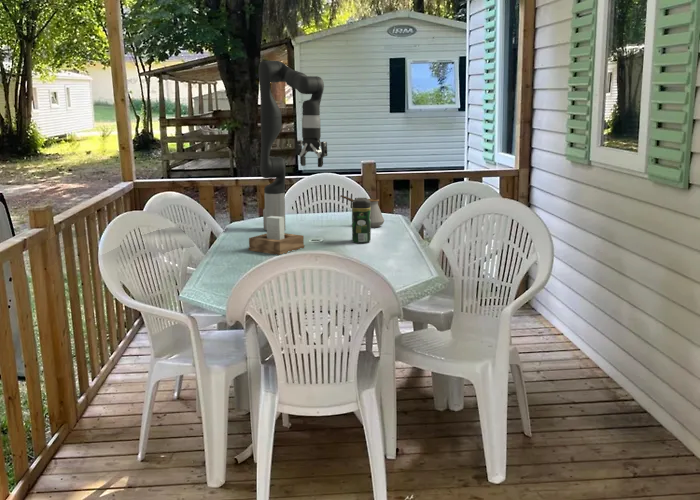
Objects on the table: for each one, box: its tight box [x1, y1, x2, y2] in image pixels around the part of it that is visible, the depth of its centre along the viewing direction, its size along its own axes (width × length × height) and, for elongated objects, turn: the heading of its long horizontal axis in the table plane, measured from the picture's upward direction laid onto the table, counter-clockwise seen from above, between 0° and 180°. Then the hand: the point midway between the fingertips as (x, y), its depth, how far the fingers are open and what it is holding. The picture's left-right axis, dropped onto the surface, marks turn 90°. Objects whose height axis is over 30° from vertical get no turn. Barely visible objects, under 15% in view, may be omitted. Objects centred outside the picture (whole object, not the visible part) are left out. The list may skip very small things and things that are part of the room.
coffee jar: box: [351, 197, 372, 244], centre depth 289 cm, size 10×8×19 cm
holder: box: [247, 232, 306, 256], centre depth 276 cm, size 16×16×5 cm
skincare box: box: [266, 216, 285, 240], centre depth 275 cm, size 6×4×12 cm
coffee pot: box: [338, 194, 385, 229], centre depth 323 cm, size 21×12×15 cm, turn 91°
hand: (311, 166), depth 283 cm, fingers open, 8 cm apart
